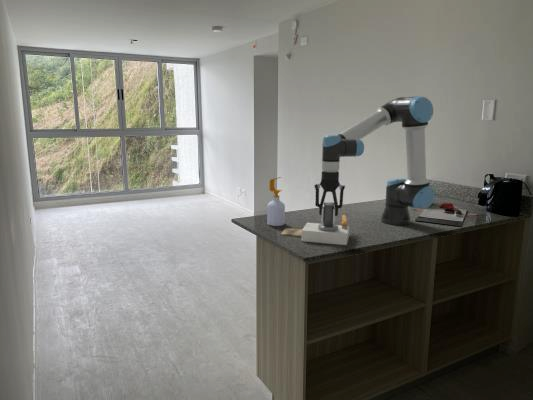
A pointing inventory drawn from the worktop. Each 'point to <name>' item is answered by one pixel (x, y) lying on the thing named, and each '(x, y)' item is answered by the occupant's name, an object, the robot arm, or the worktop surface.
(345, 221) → the clip
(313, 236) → the socket block
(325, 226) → the plug
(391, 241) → the worktop surface
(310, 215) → the worktop surface
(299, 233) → the cork mat
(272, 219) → the soap bottle
